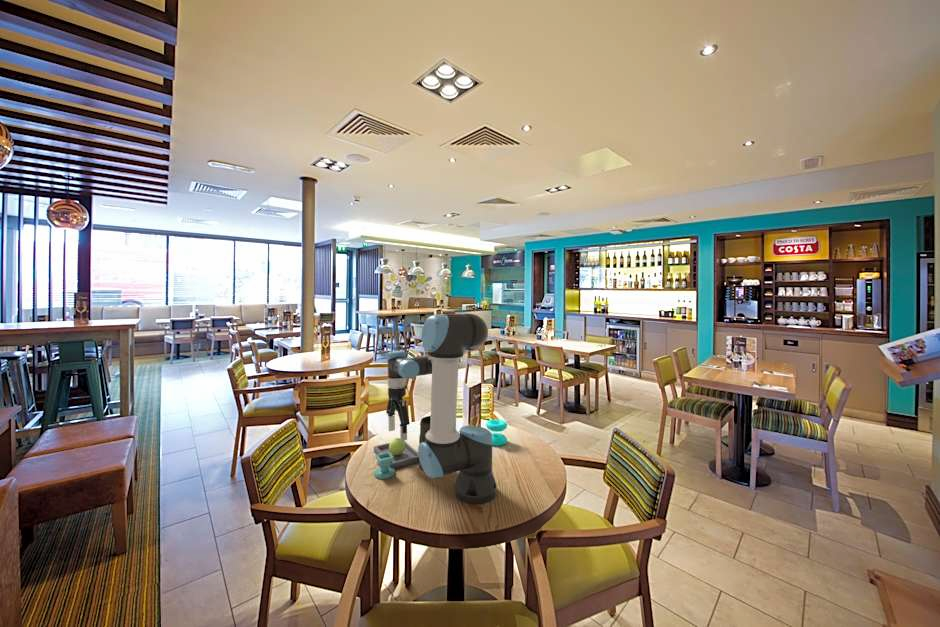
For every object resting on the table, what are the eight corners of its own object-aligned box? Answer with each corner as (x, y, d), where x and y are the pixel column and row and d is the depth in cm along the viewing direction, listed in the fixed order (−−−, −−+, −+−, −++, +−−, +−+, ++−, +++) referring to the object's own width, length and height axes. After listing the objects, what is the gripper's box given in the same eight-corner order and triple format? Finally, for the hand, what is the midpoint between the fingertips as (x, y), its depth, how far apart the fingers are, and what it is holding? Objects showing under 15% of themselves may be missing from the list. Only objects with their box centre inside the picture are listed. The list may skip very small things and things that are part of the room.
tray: (421, 461, 155) (421, 455, 155) (390, 469, 148) (390, 464, 147) (403, 444, 172) (403, 439, 172) (373, 451, 164) (373, 446, 164)
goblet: (398, 475, 143) (398, 457, 143) (378, 481, 139) (378, 462, 138) (390, 467, 150) (390, 450, 149) (371, 472, 145) (371, 454, 145)
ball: (407, 455, 159) (407, 440, 158) (392, 459, 155) (392, 443, 154) (401, 449, 165) (401, 434, 164) (386, 453, 161) (386, 437, 160)
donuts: (498, 427, 168) (482, 422, 175) (498, 448, 169) (481, 442, 175) (511, 421, 176) (494, 417, 182) (510, 442, 176) (494, 436, 183)
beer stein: (412, 467, 149) (414, 420, 148) (427, 457, 159) (429, 412, 157) (444, 479, 142) (447, 430, 141) (457, 467, 152) (460, 421, 150)
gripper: (417, 391, 150) (417, 442, 150) (394, 380, 171) (394, 425, 171) (399, 394, 146) (400, 446, 146) (378, 382, 166) (379, 428, 167)
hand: (397, 435), depth 159 cm, fingers open, 13 cm apart
